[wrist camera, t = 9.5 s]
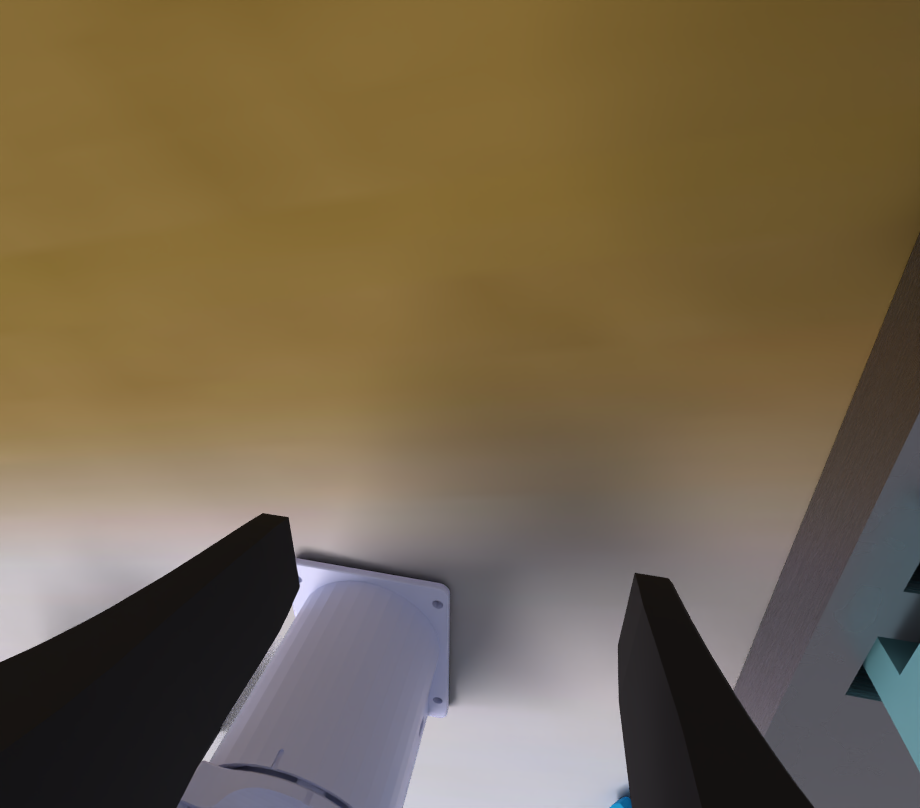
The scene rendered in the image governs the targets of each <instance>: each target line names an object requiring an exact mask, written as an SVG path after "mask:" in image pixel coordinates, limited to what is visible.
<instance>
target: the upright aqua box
mask: <svg viewBox="0 0 920 808" xmlns="http://www.w3.org/2000/svg"><path fill="white" fill-rule="evenodd" d="M863 666H864V668H865V670H866V672H867V674H868V675H869V677H870V679H871V681H872V683H873V685H874V687H875V689H876V691H877V692H878V694H879V696H880V698H881V700H882V702H883V704H884V706H885V708H886V709H887V711H888V713H889V715H890V717H891V719H892V721H893V723H894V724H895V726H896V728H897V730H898V732H899V734H900V736H901V738H902V740H903V741H904V743H905V745H906V747H907V749H908V751H909V753H910V755H911V757H912V758H913V760H914V762H915V764H916V766H917V768H918V770H919V772H920V643H915V642H909V641H903V640H897V639H891V638H885V637H879V636H878V637H877V639H876V641H875V643H874V644H873V646H872V648H871V650H870V651H869V653H868V655H867V657H866V659H865V660H864V662H863Z"/></svg>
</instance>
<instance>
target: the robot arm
mask: <svg viewBox="0 0 920 808" xmlns="http://www.w3.org/2000/svg"><path fill="white" fill-rule="evenodd" d="M438 601H440V602H438ZM292 604H293V609H294V614H295V619H294V621H293V623H292V624H291V626H290V628H289V629H288V631H287V633H286V634H285V636H284V638H283V639H282V641H281V643H280V644H279V646H278V648H277V649H276V651H275V653H274V654H273V656H272V658H271V660H270V661H269V663H268V665H267V666H266V668H265V670H264V671H263V673H262V675H261V676H260V678H259V680H258V681H257V683H256V685H255V686H254V688H253V690H252V691H251V693H250V695H249V696H248V698H247V700H246V701H245V703H244V705H243V706H242V708H241V710H240V711H239V713H238V715H237V716H236V718H235V720H234V721H233V723H232V725H231V726H230V728H229V730H228V731H227V733H226V735H225V736H224V738H223V740H222V741H221V743H220V745H219V746H218V748H217V750H216V751H215V753H214V755H213V756H212V758H211V760H210V762H207V761H202V762H201V763H200V761H201V759H202V757H203V756H204V754H205V752H206V750H207V749H208V747H209V745H210V744H211V742H212V740H213V738H214V737H215V735H216V733H217V732H218V730H219V728H220V727H221V725H222V724H223V722H224V720H225V719H226V717H227V716H228V714H229V712H230V711H231V709H232V708H233V706H234V704H235V703H236V701H237V700H238V698H239V696H240V695H241V693H242V692H243V690H244V688H245V687H246V685H247V684H248V682H249V680H250V679H251V677H252V676H253V674H254V672H255V671H256V669H257V668H258V666H259V664H260V663H261V661H262V659H263V658H264V656H265V655H266V653H267V651H268V650H269V648H270V646H271V645H272V643H273V642H274V640H275V638H276V636H277V635H278V633H279V631H280V629H281V627H282V625H283V623H284V621H285V619H286V617H287V615H288V613H289V611H290V608H291V606H292ZM449 632H450V591H449V589H448V588H447V586H445V585H444V584H441V583H436V582H431V581H425V580H419V579H413V578H408V577H402V576H396V575H390V574H385V573H379V572H373V571H368V570H362V569H356V568H350V567H345V566H339V565H333V564H327V563H322V562H316V561H310V560H305V559H299V558H295V553H294V547H293V541H292V535H291V529H290V523H289V517H283V516H277V515H271V514H264V513H262V514H261V515H259V516H257V517H256V518H254V519H252V520H251V521H249V522H248V523H246V524H244V525H243V526H241V527H240V528H238V529H237V530H235V531H233V532H232V533H230V534H229V535H227V536H226V537H224V538H223V539H221V540H220V541H218V542H217V543H215V544H213V545H212V546H210V547H209V548H207V549H206V550H204V551H203V552H201V553H200V554H198V555H196V556H195V557H193V558H192V559H190V560H189V561H187V562H185V563H184V564H182V565H181V566H179V567H178V568H176V569H174V570H173V571H171V572H170V573H168V574H166V575H165V576H163V577H162V578H160V579H158V580H156V581H155V582H153V583H151V584H150V585H148V586H146V587H145V588H143V589H141V590H139V591H138V592H136V593H134V594H133V595H131V596H129V597H128V598H126V599H124V600H123V601H121V602H119V603H117V604H116V605H114V606H112V607H111V608H109V609H107V610H105V611H103V612H102V613H100V614H98V615H96V616H94V617H92V618H90V619H89V620H87V621H85V622H83V623H81V624H79V625H77V626H75V627H73V628H71V629H69V630H67V631H65V632H63V633H61V634H59V635H57V636H55V637H53V638H52V639H50V640H48V641H46V642H43V643H41V644H39V645H37V646H35V647H33V648H31V649H29V650H26V651H24V652H22V653H20V654H18V655H15V656H13V657H11V658H9V659H6V660H4V661H2V662H0V808H403V805H404V801H405V797H406V794H407V790H408V786H409V783H410V779H411V775H412V771H413V768H414V764H415V760H416V757H417V753H418V749H419V745H420V742H421V738H422V734H423V730H424V727H425V723H426V719H427V716H428V715H429V716H433V717H438V718H443V717H445V716H446V715H447V712H448V708H449ZM618 684H619V706H620V715H621V723H622V732H623V740H624V748H625V756H626V764H627V773H628V781H629V789H630V797H631V805H632V808H815V807H814V806H813V805H812V804H811V802H810V801H809V800H808V798H807V797H806V796H805V794H804V793H803V792H802V790H801V789H800V788H799V786H798V785H797V784H796V782H795V781H794V780H793V778H792V777H791V775H790V774H789V773H788V771H787V770H786V769H785V767H784V766H783V764H782V763H781V762H780V760H779V759H778V757H777V756H776V755H775V753H774V752H773V750H772V749H771V747H770V746H769V744H768V743H767V741H766V740H765V739H764V737H763V736H762V734H761V733H760V731H759V730H758V728H757V727H756V725H755V724H754V722H753V721H752V719H751V718H750V716H749V715H748V713H747V712H746V710H745V709H744V707H743V706H742V704H741V702H740V701H739V699H738V698H737V696H736V695H735V693H734V691H733V690H732V688H731V686H730V685H729V683H728V682H727V680H726V678H725V677H724V675H723V673H722V672H721V670H720V669H719V667H718V665H717V664H716V662H715V660H714V659H713V657H712V655H711V654H710V652H709V650H708V648H707V647H706V645H705V643H704V641H703V640H702V638H701V636H700V634H699V632H698V631H697V629H696V627H695V625H694V624H693V622H692V620H691V618H690V616H689V614H688V612H687V610H686V609H685V607H684V605H683V603H682V601H681V599H680V597H679V595H678V593H677V591H676V589H675V587H674V585H673V583H672V582H671V581H670V580H669V579H668V578H663V577H657V576H651V575H645V574H638V573H635V574H634V579H633V583H632V587H631V592H630V596H629V600H628V605H627V609H626V613H625V618H624V622H623V626H622V630H621V635H620V639H619V643H618ZM199 763H200V764H199ZM198 765H199V766H198Z"/></svg>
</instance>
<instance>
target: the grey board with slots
mask: <svg viewBox="0 0 920 808" xmlns="http://www.w3.org/2000/svg"><path fill="white" fill-rule="evenodd" d="M878 636H879V637H885V638H891V639H897V640H903V641H909V642H915V643H920V234H919V236H918V239H917V241H916V244H915V246H914V248H913V251H912V253H911V256H910V258H909V261H908V263H907V266H906V268H905V271H904V273H903V276H902V278H901V280H900V283H899V285H898V288H897V290H896V293H895V295H894V298H893V300H892V303H891V305H890V307H889V310H888V312H887V315H886V317H885V320H884V322H883V325H882V327H881V330H880V332H879V335H878V337H877V339H876V342H875V344H874V347H873V349H872V352H871V354H870V357H869V359H868V362H867V364H866V367H865V369H864V371H863V374H862V376H861V379H860V381H859V384H858V386H857V389H856V391H855V394H854V396H853V398H852V401H851V403H850V406H849V408H848V411H847V413H846V416H845V418H844V421H843V423H842V426H841V428H840V430H839V433H838V435H837V438H836V440H835V443H834V445H833V448H832V450H831V453H830V455H829V457H828V460H827V462H826V465H825V467H824V470H823V472H822V475H821V477H820V480H819V482H818V485H817V487H816V489H815V492H814V494H813V497H812V499H811V502H810V504H809V507H808V509H807V512H806V514H805V517H804V519H803V521H802V524H801V526H800V529H799V531H798V534H797V536H796V539H795V541H794V544H793V546H792V548H791V551H790V553H789V556H788V558H787V561H786V563H785V566H784V568H783V571H782V573H781V576H780V578H779V580H778V583H777V585H776V588H775V590H774V593H773V595H772V598H771V600H770V603H769V605H768V608H767V610H766V612H765V615H764V617H763V620H762V622H761V625H760V627H759V630H758V632H757V635H756V637H755V639H754V642H753V644H752V647H751V649H750V652H749V654H748V657H747V659H746V662H745V664H744V667H743V669H742V671H741V674H740V676H739V679H738V681H737V684H736V686H735V689H734V693H735V695H736V696H737V698H738V699H739V701H740V702H741V704H742V706H743V707H744V709H745V710H746V712H747V713H748V715H749V716H750V718H751V719H752V721H753V722H754V724H755V725H756V727H757V728H758V730H759V731H760V733H761V734H762V736H763V737H764V739H765V740H766V741H767V743H768V744H769V746H770V747H771V749H772V750H773V752H774V753H775V755H776V756H777V757H778V759H779V760H780V762H781V763H782V764H783V766H784V767H785V769H786V770H787V771H788V773H789V774H790V775H791V777H792V778H793V780H794V781H795V782H796V784H797V785H798V786H799V788H800V789H801V790H802V792H803V793H804V794H805V796H806V797H807V798H808V800H809V801H810V802H811V804H812V805H813V806H814V807H815V808H920V772H919V770H918V768H917V766H916V764H915V762H914V760H913V758H912V757H911V755H910V753H909V751H908V749H907V747H906V745H905V743H904V741H903V740H902V738H901V736H900V734H899V732H898V730H897V728H896V726H895V724H894V723H893V721H892V719H891V717H890V715H889V713H888V711H887V709H886V708H885V706H884V704H883V702H882V700H881V698H880V696H879V694H878V692H877V691H876V689H875V687H874V685H873V683H872V681H871V679H870V677H869V675H868V674H867V672H866V670H865V668H864V666H863V662H864V660H865V659H866V657H867V655H868V653H869V651H870V650H871V648H872V646H873V644H874V643H875V641H876V639H877V637H878Z"/></svg>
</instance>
